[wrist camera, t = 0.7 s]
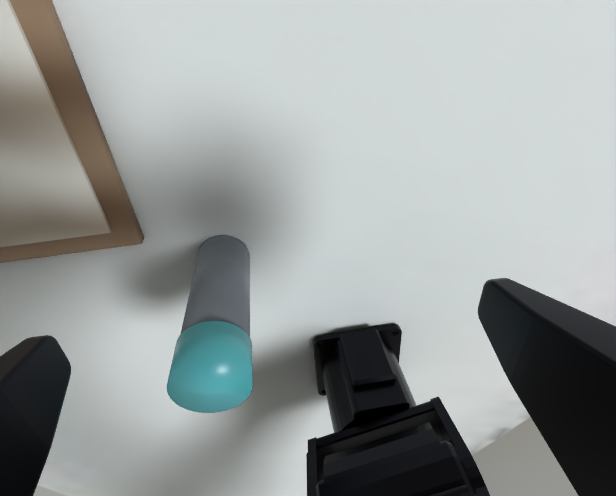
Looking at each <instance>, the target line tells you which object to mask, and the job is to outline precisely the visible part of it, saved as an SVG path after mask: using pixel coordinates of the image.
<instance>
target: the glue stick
mask: <svg viewBox="0 0 616 496" xmlns="http://www.w3.org/2000/svg"><path fill="white" fill-rule="evenodd" d="M251 391H252V342H251V339H250V255H249V251H248V248H247V247H246V245H245V244H244V243H243V242H242V241H240V240H239V239H237V238H235V237H232V236H226V235H220V236H214V237H211V238H209V239H208V240H206V241H205V242H204V243H203V244H202V245H201V246H200V248H199V251H198V256H197V260H196V265H195V270H194V274H193V279H192V284H191V288H190V293H189V298H188V302H187V307H186V312H185V317H184V321H183V326H182V331H181V335H180V336H179V338H178V340H177V343H176V347H175V351H174V356H173V360H172V365H171V369H170V374H169V378H168V383H167V392H168V395H169V396H170V398H171V399H172V400H173V401H174V402H175V403H176V404H177V405H179V406H181V407H183V408H185V409H188V410H191V411H195V412H202V413H214V412H221V411H225V410H229V409H231V408H234V407H236V406H238V405H239V404H241V403H242V402H244V401H245V400H246V399H247V398H248V396H249V395H250V393H251Z"/></svg>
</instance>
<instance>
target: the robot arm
mask: <svg viewBox="0 0 616 496" xmlns="http://www.w3.org/2000/svg"><path fill="white" fill-rule="evenodd" d="M478 316H479V319H480V321H481V323H482V326H483V328H484V330H485V332H486V334H487V336H488V338H489V340H490V342H491V344H492V347H493V349H494V351H495V353H496V355H497V357H498V359H499V361H500V363H501V365H502V368H503V370H504V372H505V374H506V376H507V377H508V379H509V381H510V383H511V385H512V387H513V388H514V390H515V392H516V393H517V395H518V397H519V398H520V400H521V402H522V403H523V405H524V407H525V408H526V410H527V411H528V413H529V415H530V416H531V418H532V419H533V421H534V423H535V425H536V426H537V428H538V429H539V431H540V433H541V434H542V436H543V438H544V439H545V441H546V442H547V444H548V446H549V448H550V449H551V451H552V452H553V454H554V456H555V457H556V459H557V461H558V462H559V464H560V465H561V467H562V469H563V471H564V472H565V474H566V476H567V477H568V479H569V481H570V482H571V484H572V485H573V487H574V489H575V490H576V492H577V494H578V495H579V496H616V326H613V325H611V324H609V323H607V322H604V321H602V320H600V319H598V318H595V317H593V316H591V315H589V314H586V313H584V312H582V311H580V310H578V309H575V308H573V307H571V306H569V305H566V304H564V303H562V302H560V301H557V300H555V299H553V298H551V297H548V296H546V295H544V294H542V293H539V292H537V291H535V290H533V289H530V288H528V287H526V286H524V285H521V284H519V283H517V282H515V281H512V280H510V279H508V278H499V279H491V280H488V281H486V283H485V284H484V287H483V291H482V295H481V299H480V302H479V306H478ZM393 331H394V332H393ZM401 334H402V331H401V329H400V327H399V325H396V324H393V325H387V326H380V327H374V328H368V329H361V330H355V331H349V332H342V333H336V334H330V335H323V336H318V337H316V338H315V339H314V340H313V347H314V357H315V367H316V377H317V387H318V393H319V394H320V395H327V400H328V405H329V410H330V415H331V420H332V425H333V429H334V433H332V434H329V435H326V436H323V437H320V438H316V437H315V438H312V439H309V440H308V453H307V496H490V494H489V492H488V490H487V487H486V485H485V483H484V480H483V478H482V476H481V474H480V472H479V469H478V467H477V465H476V463H475V461H474V459H473V457H472V455H471V453H470V452H469V450H468V448H467V446H466V444H465V443H464V441H463V439H462V437H461V435H460V434H459V432H458V430H457V428H456V427H455V425H454V423H453V421H452V420H451V418H450V416H449V414H448V412H447V411H446V409H445V407H444V405H443V404H442V402H441V400H440V398H439V397H436V398H433V399H430V400H431V401H429V402H426V403H423V404H420V405H417V406H416V403H415V401H414V398H413V396H412V394H411V391H410V389H409V387H408V384H407V382H406V380H405V377H404V375H403V373H402V370H401V368H400V366H399V354H400V344H401ZM70 375H71V365H70V362H69V360H68V358H67V357H66V355H65V354H64V352H63V350H62V349H61V347H60V345H59V344H58V342H57V340H56V339H55V338H54V337H52V336H49V335H46V336H38V337H31V338H27V339H25V340H24V341H22V342H21V343H19V344H18V345H16V346H15V347H13V348H12V349H11V350H9V351H8V352H6V353H5V354H3V355H2V356H0V496H33V494H34V492H35V489H36V487H37V484H38V481H39V479H40V476H41V473H42V471H43V468H44V465H45V463H46V460H47V457H48V454H49V451H50V448H51V445H52V442H53V438H54V435H55V431H56V427H57V424H58V420H59V416H60V412H61V409H62V405H63V401H64V397H65V394H66V390H67V386H68V383H69V379H70Z"/></svg>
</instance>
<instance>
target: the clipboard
mask: <svg viewBox="0 0 616 496" xmlns="http://www.w3.org/2000/svg"><path fill="white" fill-rule="evenodd" d="M143 240H144V236H143V233H142V231H141V228H140V226H139V223H138V220H137V218H136V215H135V213H134V210H133V208H132V205H131V202H130V200H129V197H128V195H127V192H126V190H125V187H124V184H123V182H122V179H121V177H120V174H119V172H118V169H117V167H116V164H115V161H114V159H113V156H112V154H111V151H110V149H109V146H108V143H107V141H106V138H105V136H104V133H103V131H102V128H101V125H100V123H99V120H98V118H97V115H96V113H95V110H94V108H93V105H92V102H91V100H90V97H89V95H88V92H87V90H86V87H85V84H84V82H83V79H82V77H81V74H80V72H79V69H78V66H77V64H76V61H75V59H74V56H73V54H72V51H71V49H70V46H69V43H68V41H67V38H66V36H65V33H64V31H63V28H62V25H61V23H60V20H59V18H58V15H57V13H56V10H55V8H54V5H53V2H52V0H0V263H2V262H9V261H17V260H24V259H31V258H39V257H46V256H54V255H61V254H69V253H76V252H83V251H91V250H98V249H106V248H113V247H120V246H128V245H135V244H142V242H143Z"/></svg>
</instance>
